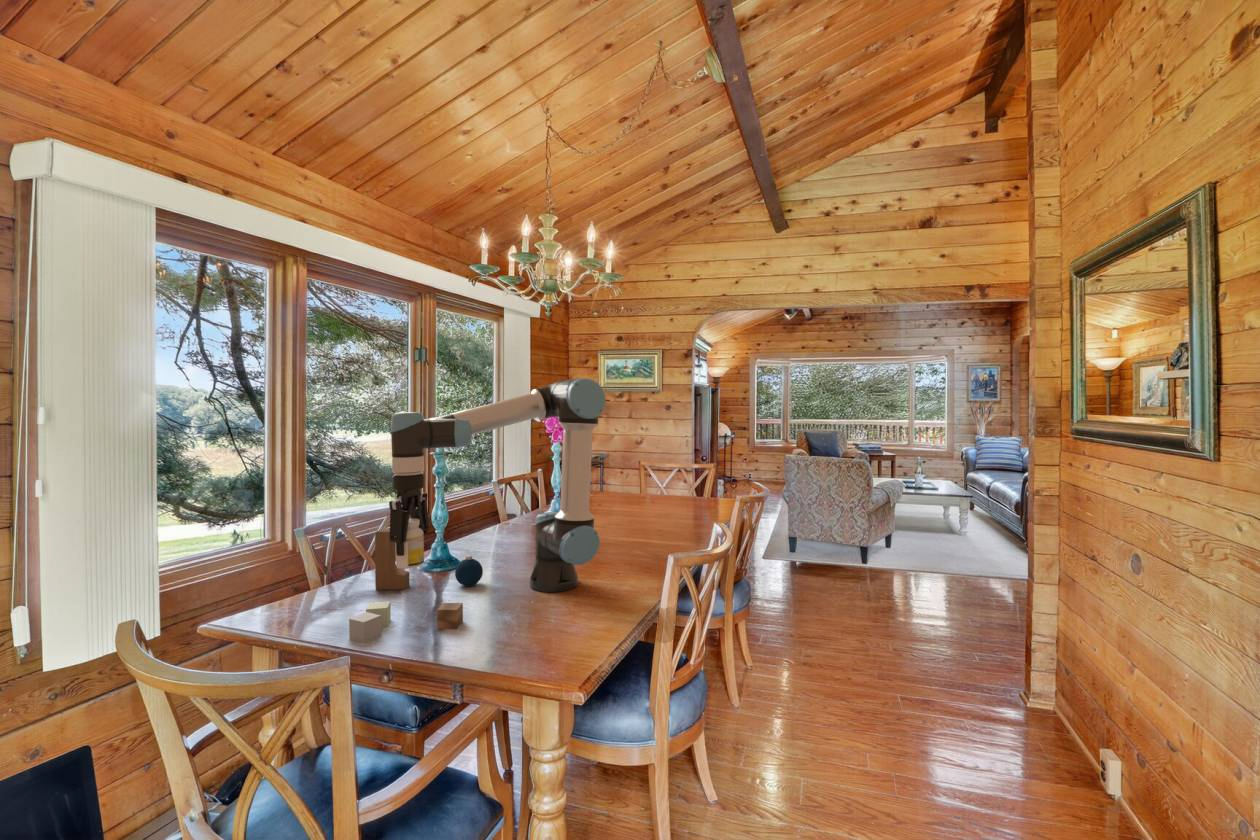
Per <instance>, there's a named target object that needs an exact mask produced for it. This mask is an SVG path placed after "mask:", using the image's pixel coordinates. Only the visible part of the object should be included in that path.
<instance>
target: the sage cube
mask: <svg viewBox="0 0 1260 840" xmlns="http://www.w3.org/2000/svg"><path fill="white" fill-rule="evenodd" d="M391 604H392V603H391V601H389V600H388V601H377V602H376V601H374V602H369V604H368V606H367V607H366V608H365V613H366V612H369V613H373V614H377V615H381V628H388V626H389V624H390V621H391V620H392V618H391V617H392V615H391Z"/></svg>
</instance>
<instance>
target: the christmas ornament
mask: <svg viewBox="0 0 1260 840" xmlns="http://www.w3.org/2000/svg"><path fill="white" fill-rule="evenodd" d="M483 574H484V570H483V566H482V564H481V562H479V561H478V560H477V559H475V558H473V555H471V554H467V555H466V556H465V559H463V560H461V561H460V562H459V563H458V564H457V565H456V568H455V571H454V576H455V579H456V581H457V582H458V583H459V584H460V585H462V586H465V587H472V586H475V585H477V584H478V583H479V582H480V581H481V579H482V577H483Z"/></svg>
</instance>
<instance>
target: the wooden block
mask: <svg viewBox="0 0 1260 840" xmlns="http://www.w3.org/2000/svg"><path fill="white" fill-rule="evenodd" d="M394 537H395V536H394ZM374 546H375V547H374V550H375V551H374V555H375V556H374V557H375V559H374V561H375V562H374V564H375V565H374V569H375V574H374V575H375V576H374V577H375V587H374V588H375V590H376V591H387V590H388V591H389V590H391V591H393V590H394V591H397V590H399V591H402V590H406V589H407V588H408V587H409V586H410V571H407V570H402V569H401V568H397V562H396V560H395V559H396V558H395V557H396V543H395V542H391V541H390V528H380V529H378V530H376V531H375V532H374Z"/></svg>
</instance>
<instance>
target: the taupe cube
mask: <svg viewBox="0 0 1260 840" xmlns="http://www.w3.org/2000/svg"><path fill="white" fill-rule="evenodd" d="M348 621H349V623H348V625H349V626H348V627H349V628H348V630H349V632H348V634H349V635H348V636H349V638H348V639H349V640H353V641H356V642H359V643H366V642H368V641H371V640H373V639H376V638H378V637H380V636H382V627H381V615H377V614H373V613H369V612H366V611H365V612H363V613H361V614H358V615H356V616H353V617H351V618H349V620H348Z"/></svg>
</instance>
